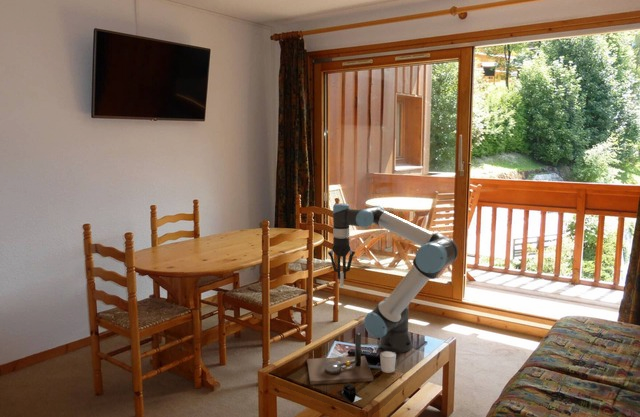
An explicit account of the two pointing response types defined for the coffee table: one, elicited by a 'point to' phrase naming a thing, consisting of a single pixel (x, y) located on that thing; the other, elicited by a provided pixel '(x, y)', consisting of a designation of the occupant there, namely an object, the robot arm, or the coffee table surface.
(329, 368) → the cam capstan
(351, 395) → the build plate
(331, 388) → the coffee table surface
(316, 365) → the crank stand
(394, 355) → the shot glass
